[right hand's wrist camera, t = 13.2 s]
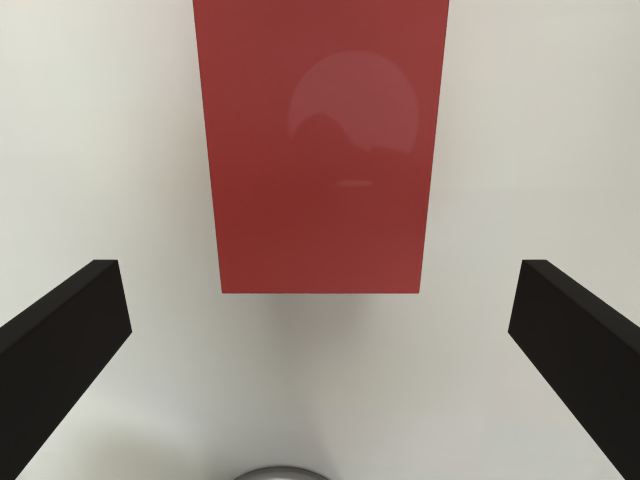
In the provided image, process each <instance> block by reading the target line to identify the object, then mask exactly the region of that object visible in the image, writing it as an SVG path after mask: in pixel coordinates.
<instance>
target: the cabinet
mask: <svg viewBox="0 0 640 480" xmlns="http://www.w3.org/2000/svg"><path fill="white" fill-rule="evenodd" d="M448 7H449V0H193V8H194V18H195V28H196V38H197V48H198V58H199V69H200V79H201V89H202V99H203V109H204V119H205V129H206V139H207V149H208V159H209V169H210V179H211V189H212V199H213V209H214V219H215V229H216V239H217V249H218V259H219V269H220V279H221V289H222V293H419V289H420V279H421V270H422V260H423V250H424V240H425V231H426V221H427V211H428V202H429V192H430V182H431V172H432V163H433V153H434V143H435V134H436V124H437V114H438V104H439V95H440V85H441V75H442V66H443V56H444V46H445V36H446V27H447V17H448Z"/></svg>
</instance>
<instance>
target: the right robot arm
mask: <svg viewBox="0 0 640 480" xmlns="http://www.w3.org/2000/svg"><path fill="white" fill-rule="evenodd" d="M131 333H132V329H131V324H130V319H129V314H128V309H127V304H126V299H125V294H124V289H123V284H122V279H121V274H120V269H119V264H118V260H93V261H92V262H90V263H89V264H87V265H86V266H85V267H83V268H82V269H80V270H79V271H78V272H76V273H75V274H74V275H72V276H71V277H69V278H68V279H67V280H65V281H64V282H63V283H61V284H60V285H58V286H57V287H56V288H54V289H53V290H51V291H50V292H49V293H47V294H46V295H45V296H43V297H42V298H40V299H39V300H38V301H36V302H35V303H34V304H32V305H31V306H29V307H28V308H27V309H25V310H24V311H23V312H21V313H20V314H18V315H17V316H16V317H14V318H13V319H11V320H10V321H9V322H7V323H6V324H5V325H3V326H2V327H0V480H15V479H16V478H17V477H18V475H19V474H20V473H21V471H22V470H23V469H24V468H25V466H26V465H27V464H28V463H29V461H30V460H31V459H32V458H33V456H34V455H35V454H36V453H37V451H38V450H39V449H40V448H41V446H42V445H43V444H44V443H45V441H46V440H47V439H48V437H49V436H50V435H51V434H52V432H53V431H54V430H55V429H56V427H57V426H58V425H59V424H60V422H61V421H62V420H63V419H64V417H65V416H66V415H67V414H68V412H69V411H70V410H71V409H72V407H73V406H74V405H75V404H76V402H77V401H78V400H79V398H80V397H81V396H82V395H83V393H84V392H85V391H86V390H87V388H88V387H89V386H90V385H91V383H92V382H93V381H94V380H95V378H96V377H97V376H98V375H99V373H100V372H101V371H102V370H103V368H104V367H105V366H106V365H107V363H108V362H109V361H110V359H111V358H112V357H113V356H114V354H115V353H116V352H117V351H118V349H119V348H120V347H121V346H122V344H123V343H124V342H125V341H126V339H127V338H128V337H129V336H130V334H131ZM508 333H509V334H510V336H511V337H512V338H513V339H514V341H515V342H516V343H517V344H518V346H519V347H520V348H521V349H522V351H523V352H524V353H525V354H526V356H527V357H528V358H529V359H530V361H531V362H532V363H533V365H534V366H535V367H536V368H537V370H538V371H539V372H540V373H541V375H542V376H543V377H544V378H545V380H546V381H547V382H548V383H549V385H550V386H551V387H552V388H553V390H554V391H555V392H556V393H557V395H558V396H559V397H560V398H561V400H562V401H563V402H564V404H565V405H566V406H567V407H568V409H569V410H570V411H571V412H572V414H573V415H574V416H575V417H576V419H577V420H578V421H579V422H580V424H581V425H582V426H583V427H584V429H585V430H586V431H587V432H588V434H589V435H590V436H591V437H592V439H593V440H594V441H595V443H596V444H597V445H598V446H599V448H600V449H601V450H602V451H603V453H604V454H605V455H606V456H607V458H608V459H609V460H610V461H611V463H612V464H613V465H614V466H615V468H616V469H617V470H618V471H619V473H620V474H621V475H622V477H623V478H624V479H625V480H640V327H638V326H637V325H635V324H634V323H633V322H631V321H630V320H629V319H627V318H626V317H624V316H623V315H622V314H620V313H619V312H617V311H616V310H615V309H613V308H612V307H611V306H609V305H608V304H606V303H605V302H604V301H602V300H601V299H600V298H598V297H597V296H595V295H594V294H593V293H591V292H590V291H588V290H587V289H586V288H584V287H583V286H582V285H580V284H579V283H577V282H576V281H575V280H573V279H572V278H571V277H569V276H568V275H566V274H565V273H564V272H562V271H561V270H560V269H558V268H557V267H555V266H554V265H553V264H551V263H550V262H548V261H547V260H522V264H521V269H520V274H519V279H518V284H517V289H516V294H515V299H514V304H513V309H512V314H511V319H510V324H509V329H508ZM235 480H327V479H325V478H323V477H321V476H319V475H317V474H314V473H312V472H309V471H305V470H301V469H296V468H286V467H275V468H265V469H260V470H256V471H253V472H250V473H247V474H245V475H243V476H241V477H239V478H237V479H235Z"/></svg>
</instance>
